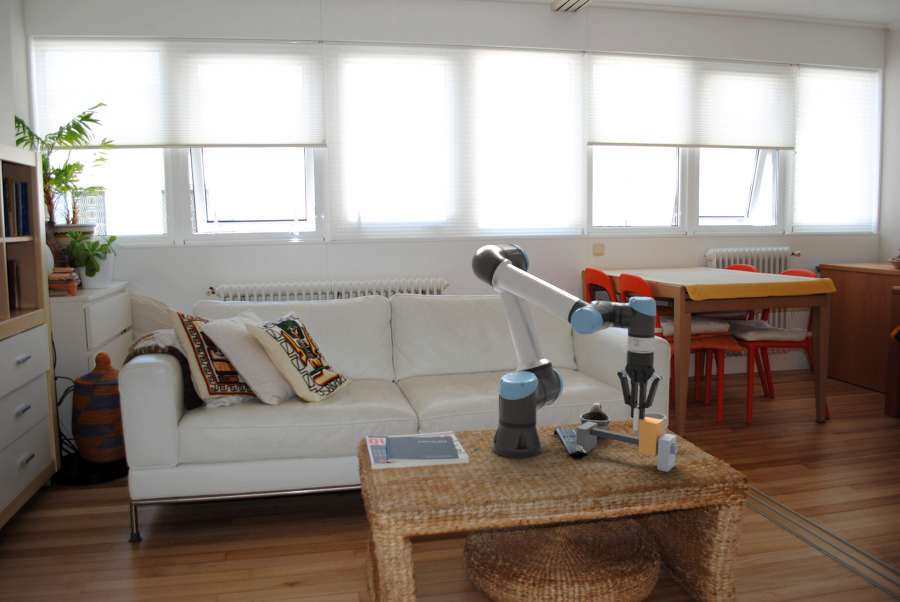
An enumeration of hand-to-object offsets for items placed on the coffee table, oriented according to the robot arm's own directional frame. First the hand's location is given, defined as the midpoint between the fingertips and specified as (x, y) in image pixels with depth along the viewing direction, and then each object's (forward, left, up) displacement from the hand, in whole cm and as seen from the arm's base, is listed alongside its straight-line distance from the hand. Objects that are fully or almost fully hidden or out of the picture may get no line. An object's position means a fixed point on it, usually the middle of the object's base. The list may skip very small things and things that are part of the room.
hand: (637, 429), depth 195 cm
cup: (-3, +17, -10) cm, 20 cm away
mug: (-20, +13, -10) cm, 25 cm away
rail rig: (-4, 0, -10) cm, 10 cm away
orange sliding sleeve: (+4, 0, -6) cm, 7 cm away
